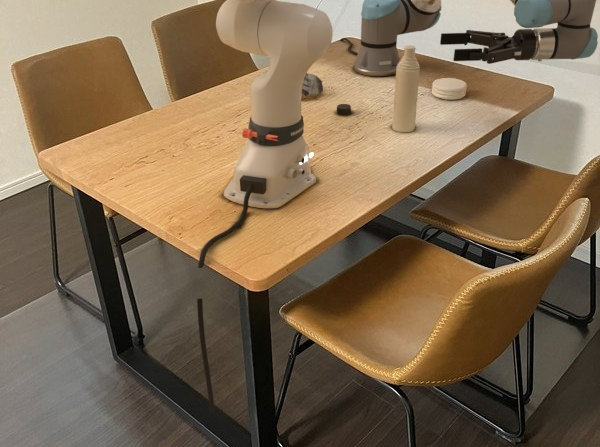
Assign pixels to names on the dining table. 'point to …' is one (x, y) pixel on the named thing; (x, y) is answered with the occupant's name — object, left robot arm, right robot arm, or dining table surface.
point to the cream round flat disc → (449, 88)
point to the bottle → (406, 91)
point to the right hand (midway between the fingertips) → (447, 46)
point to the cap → (343, 109)
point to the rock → (311, 86)
